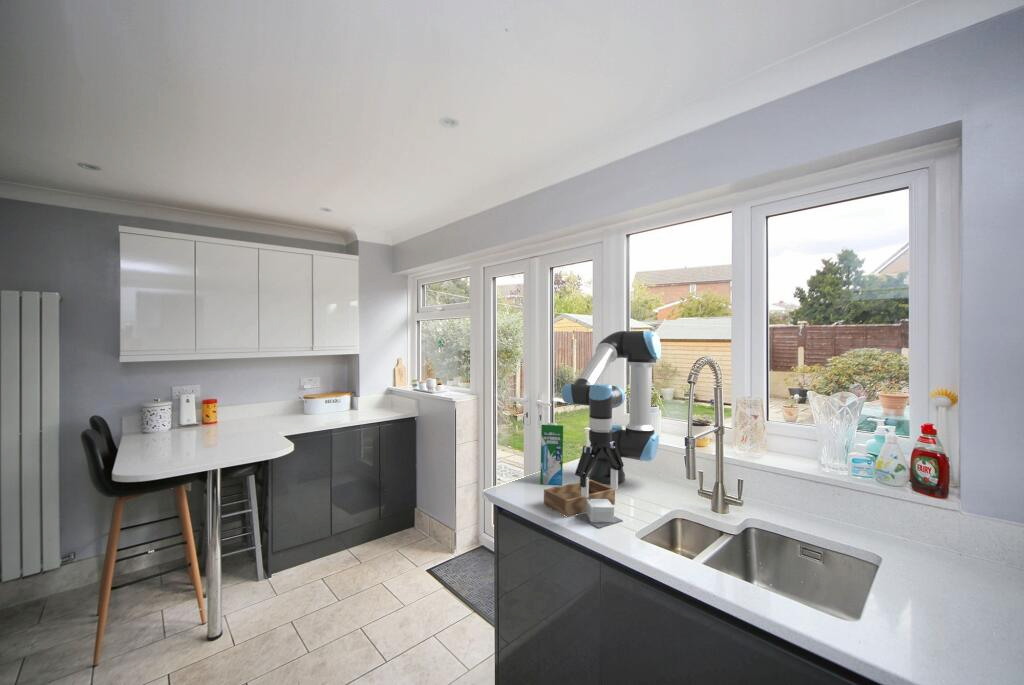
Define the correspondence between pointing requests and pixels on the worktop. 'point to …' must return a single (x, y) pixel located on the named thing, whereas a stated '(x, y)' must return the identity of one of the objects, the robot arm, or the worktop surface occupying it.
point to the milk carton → (551, 454)
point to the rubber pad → (597, 524)
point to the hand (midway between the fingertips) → (599, 492)
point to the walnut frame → (575, 497)
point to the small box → (599, 510)
